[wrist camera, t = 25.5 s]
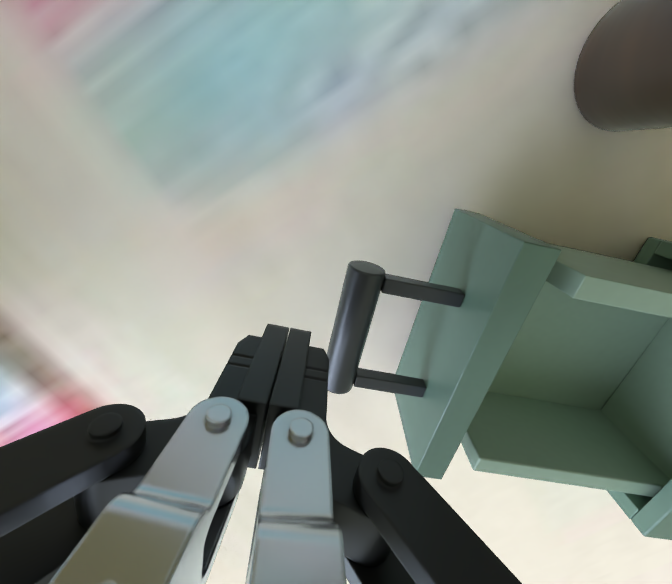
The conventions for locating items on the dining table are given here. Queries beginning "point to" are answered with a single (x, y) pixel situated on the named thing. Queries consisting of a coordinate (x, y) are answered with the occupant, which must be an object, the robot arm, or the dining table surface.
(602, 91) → the pepper mill
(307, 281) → the dining table surface
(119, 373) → the dining table surface
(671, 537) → the cabinet
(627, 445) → the drawer
